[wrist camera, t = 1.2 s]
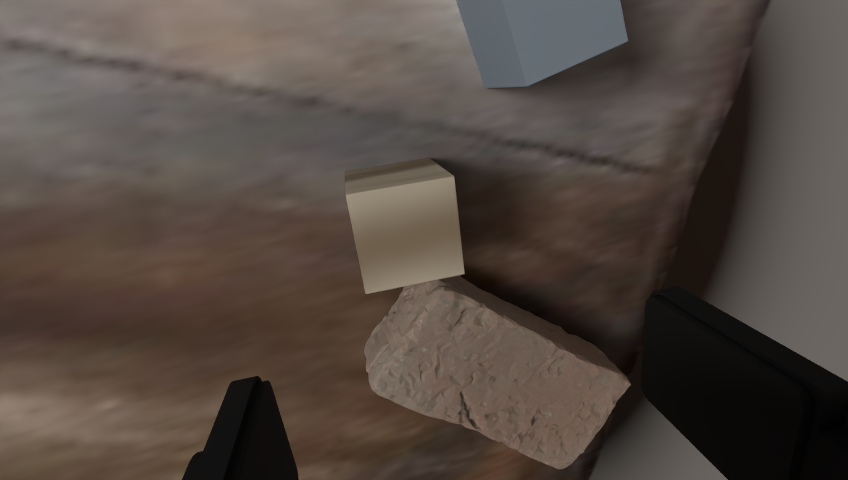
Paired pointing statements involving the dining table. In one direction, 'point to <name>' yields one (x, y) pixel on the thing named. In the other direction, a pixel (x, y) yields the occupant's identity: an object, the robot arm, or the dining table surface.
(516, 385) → the brick
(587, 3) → the slate block
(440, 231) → the beech block
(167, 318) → the dining table surface
